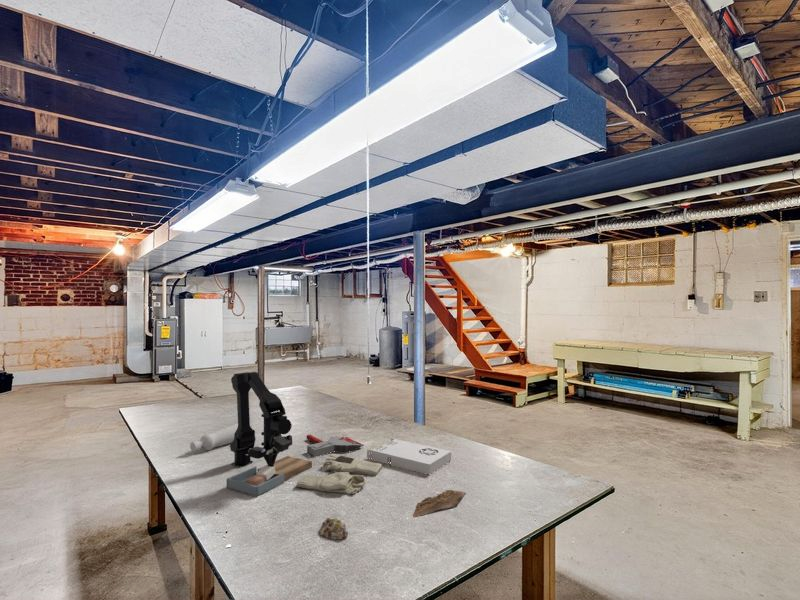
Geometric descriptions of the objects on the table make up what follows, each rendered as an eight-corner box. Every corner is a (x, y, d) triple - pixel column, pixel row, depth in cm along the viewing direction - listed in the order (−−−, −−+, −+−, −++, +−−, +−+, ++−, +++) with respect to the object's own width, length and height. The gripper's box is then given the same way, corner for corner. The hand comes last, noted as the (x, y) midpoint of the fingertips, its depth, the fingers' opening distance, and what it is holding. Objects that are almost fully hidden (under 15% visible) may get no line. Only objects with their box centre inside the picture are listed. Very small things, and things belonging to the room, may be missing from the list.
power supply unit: (391, 448, 199) (391, 438, 199) (451, 462, 180) (451, 451, 180) (366, 460, 183) (366, 449, 184) (429, 477, 165) (429, 464, 165)
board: (257, 475, 166) (257, 469, 166) (287, 461, 181) (287, 455, 181) (282, 482, 159) (282, 475, 159) (311, 467, 174) (311, 461, 174)
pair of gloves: (332, 461, 181) (332, 449, 182) (385, 469, 172) (385, 456, 172) (292, 489, 153) (292, 475, 153) (352, 500, 144) (352, 485, 144)
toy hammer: (332, 427, 221) (363, 441, 198) (332, 434, 221) (363, 449, 197) (291, 436, 206) (319, 452, 182) (291, 444, 206) (319, 460, 182)
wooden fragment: (453, 488, 153) (453, 485, 153) (476, 499, 144) (476, 496, 144) (400, 510, 137) (400, 507, 137) (421, 523, 128) (421, 520, 128)
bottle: (239, 429, 219) (185, 447, 193) (245, 416, 216) (191, 433, 191) (248, 441, 215) (194, 461, 189) (254, 428, 212) (201, 446, 187)
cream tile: (257, 478, 159) (256, 472, 159) (266, 471, 164) (264, 465, 163) (267, 480, 157) (266, 474, 157) (275, 472, 161) (274, 467, 161)
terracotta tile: (246, 486, 154) (246, 479, 154) (255, 481, 159) (255, 474, 159) (256, 488, 152) (256, 481, 152) (265, 483, 157) (265, 476, 157)
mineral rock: (312, 524, 124) (333, 508, 129) (315, 536, 124) (336, 520, 130) (331, 539, 116) (353, 522, 121) (335, 552, 117) (356, 534, 122)
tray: (226, 488, 154) (226, 478, 154) (255, 475, 166) (255, 466, 166) (256, 497, 146) (256, 487, 146) (284, 482, 158) (284, 473, 158)
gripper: (267, 438, 151) (268, 481, 151) (302, 425, 168) (302, 464, 167) (247, 434, 157) (246, 475, 156) (282, 422, 173) (282, 459, 173)
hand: (271, 468), depth 163 cm, fingers closed
